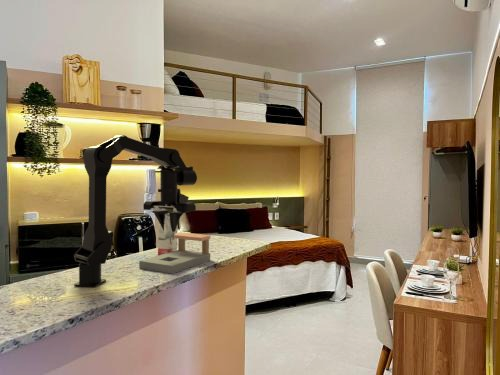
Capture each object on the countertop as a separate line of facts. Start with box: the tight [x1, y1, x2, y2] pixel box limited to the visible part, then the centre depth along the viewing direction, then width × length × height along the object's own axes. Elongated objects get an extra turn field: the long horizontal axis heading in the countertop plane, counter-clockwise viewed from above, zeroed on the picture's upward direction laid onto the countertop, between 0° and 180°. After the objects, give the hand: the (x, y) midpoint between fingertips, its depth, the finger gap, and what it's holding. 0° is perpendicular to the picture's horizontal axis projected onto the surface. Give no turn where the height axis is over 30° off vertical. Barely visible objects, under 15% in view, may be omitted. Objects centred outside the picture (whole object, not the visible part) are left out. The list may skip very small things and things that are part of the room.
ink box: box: [157, 224, 179, 256], centre depth 150 cm, size 9×5×12 cm, turn 168°
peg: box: [164, 212, 175, 238], centre depth 128 cm, size 4×4×8 cm
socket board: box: [138, 232, 211, 274], centre depth 133 cm, size 22×14×9 cm, turn 152°
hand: (169, 231), depth 129 cm, fingers closed on peg, 4 cm apart
